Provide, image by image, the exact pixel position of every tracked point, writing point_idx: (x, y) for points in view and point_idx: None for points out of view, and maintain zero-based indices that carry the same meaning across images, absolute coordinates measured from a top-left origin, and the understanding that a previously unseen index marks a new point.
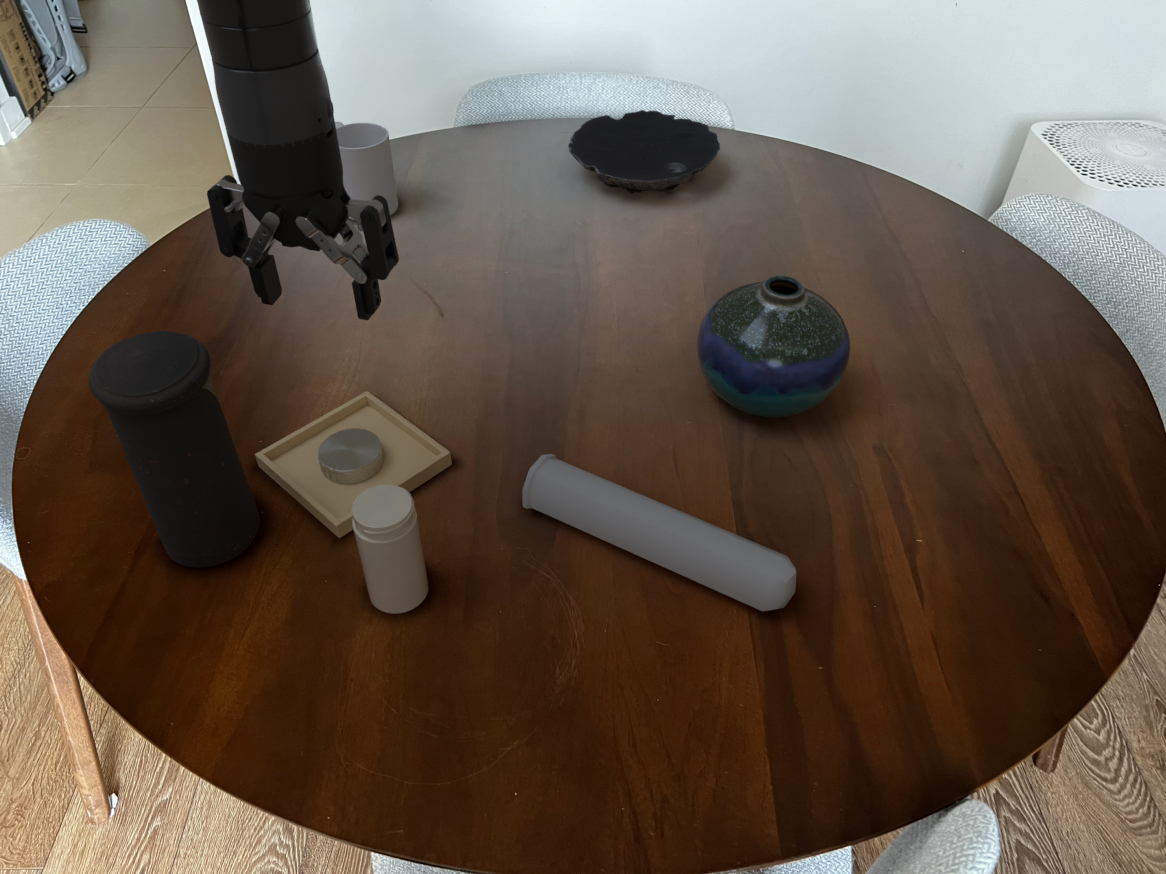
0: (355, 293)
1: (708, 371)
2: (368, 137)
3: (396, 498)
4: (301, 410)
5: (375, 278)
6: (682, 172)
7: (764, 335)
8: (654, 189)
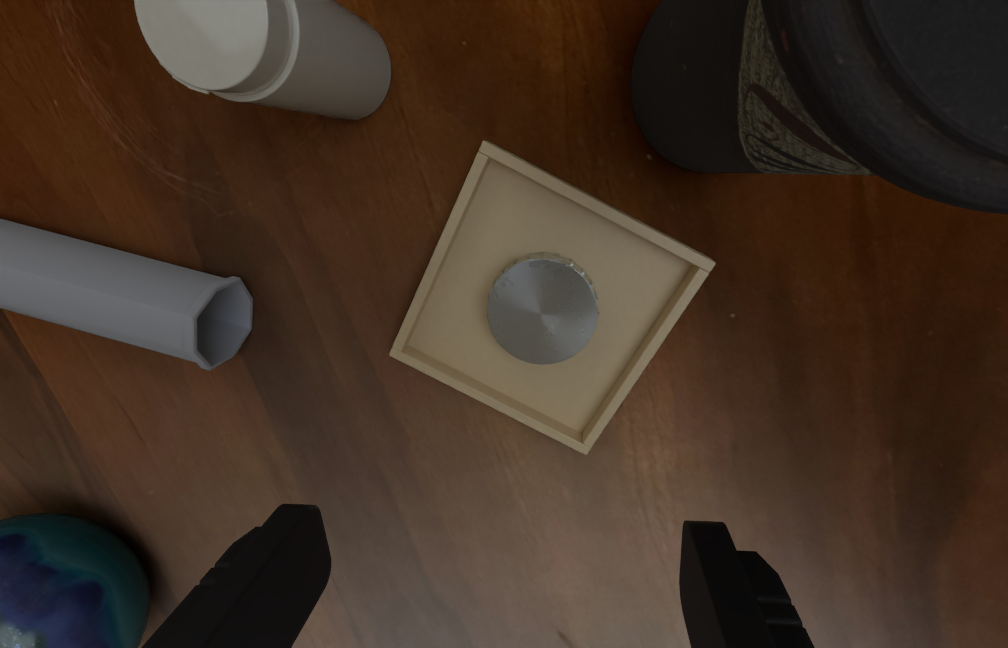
0: (229, 601)
1: (77, 567)
2: None
3: (186, 47)
4: (693, 401)
5: None
6: None
7: None
8: None
